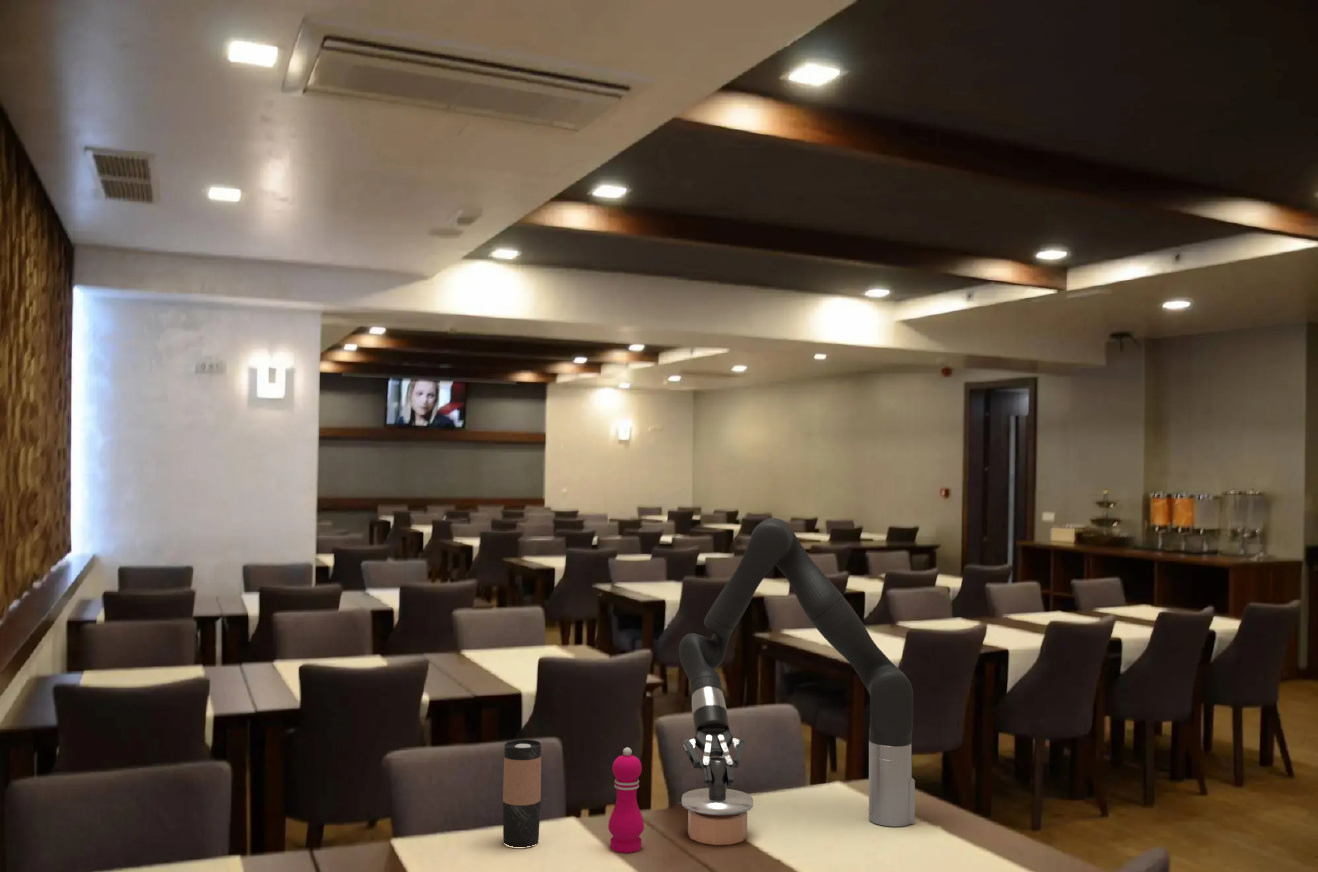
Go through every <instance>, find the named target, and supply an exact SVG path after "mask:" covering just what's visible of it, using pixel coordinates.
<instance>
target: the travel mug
mask: <svg viewBox="0 0 1318 872" xmlns="http://www.w3.org/2000/svg"><path fill="white" fill-rule="evenodd" d="M503 752H504V756H503V758H504V759H503V762H504V763H503V781H502V782H503V784H502V785H503V786H502V787H503V788H502V831H503V832H502V835H503V837H502V839H503V840H502V841H504V843H505V844H507V845H509V846H513V847H527V846H532V845H535V844H537V843H538V844H539V840H540V839H539V837H540V819H541V799H542V797H541V796H542V795H541V793H542V790H541V789H542V788H541V787H542V786H541V785H542V782H541V781H542V742H541V741H538V740H533V739H513V740H509V741H506V742H505V743H504V751H503ZM504 843H503V844H504ZM538 844H537V845H538Z"/></svg>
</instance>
